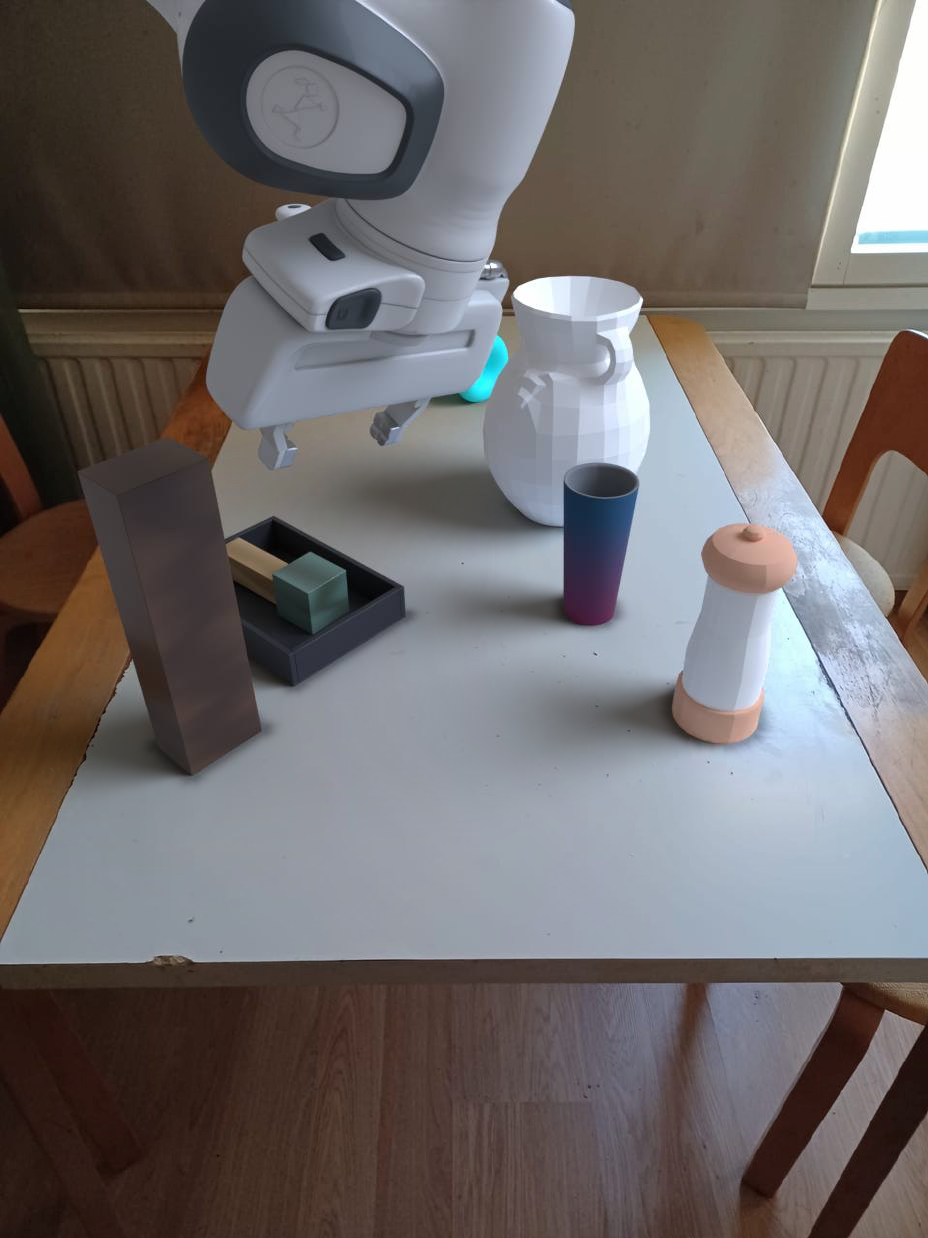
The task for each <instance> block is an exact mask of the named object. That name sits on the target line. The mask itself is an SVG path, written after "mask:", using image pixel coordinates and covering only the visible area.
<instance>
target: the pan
mask: <svg viewBox="0 0 928 1238" xmlns="http://www.w3.org/2000/svg"><path fill="white" fill-rule="evenodd" d="M238 537H239V538H241V539H243V540H245V541H247V542H248V543H250V544H252V545H254V546H256V547H258V548H260V549H261V550H263V551H265V552H267V553H269V554H271V555H273V556H274V557H276V558H278V559H280V560H282V561H284V562H286V563H287V564H290V563H291V562H293V561H295V560H297V559H298V558H300V557H302V556H304V555H305V554H307V553H309V552H312V553H314V554H315V555H317V556H319V557H321V558H323V559H325V560H327V561H329V562H331V563H333V564H335V565H337V566H339V567H340V568H342V569H344V570H346V579H347V592H348V604H349V611H348V612H347V613H345V614H344V615H342V616H341V617H339V618H338V619H336V620H335V621H333V622H332V623H330V624H329V625H327V626H326V627H324V628H323V629H321V630H320V631H318V632H317V633H315V634H314V635H312V634H310V633H308V632H307V631H305V630H303V629H301V628H300V627H298V626H296V625H295V624H293V623H291V622H289V621H288V620H286V619H284V618H283V617H281V616H279V615H278V613H277V606H276V604H274V603H272V602H271V601H269V600H267V599H265V598H264V597H262V596H260V595H259V594H257V593H255V592H253V591H252V590H250V589H248V588H246V587H245V586H243V585H241V584H239V583H238V582H236V581H234V580H233V584H234V590H235V595H236V600H237V605H238V610H239V615H240V621H241V626H242V631H243V636H244V641H245V646H246V652H247V657H250V658H251V659H253V660H254V661H256V662H257V663H258V664H260V665H262V666H263V667H264V668H266V669H267V670H268V671H270V672H271V673H273V674H274V675H276V676H277V677H278V678H280V679H282V680H283V681H284V682H286V683H287V684H289V685H290V686H291V687H294V688H295V687H296V686H298V685H300V684H301V683H303V682H305V681H306V680H307V679H310V677H312V676H314V675H315V674H317V673H318V672H320V671H322V670H323V669H325V668H326V667H328V666H329V665H331V664H333V663H334V662H336V661H338V660H339V659H341V658H343V657H344V656H346V655H347V654H349V653H351V652H352V651H354V650H355V649H357V648H358V647H360V646H361V645H363V644H365V643H366V642H368V641H369V640H371V639H372V638H375V636H377V635H379V634H381V633H382V632H384V631H385V630H387V629H388V628H390V627H392V626H393V625H395V624H396V623H399V622H400V621H402V620H403V619H404V618H406V615H407V614H406V597H405V596H406V595H405V586H404V585H402V584H400V583H398V582H397V581H395V580H393V579H391V578H389V577H388V576H386V575H384V574H381V573H380V572H378V571H376V570H375V569H373V568H371V567H369V566H367V565H366V564H363V563H362V562H360V561H358V560H356V559H354V558H352V557H350V556H349V555H347V554H346V553H344V552H341V551H339V550H338V549H336V548H334V547H332V546H330V545H329V544H327V543H325V542H323V541H322V540H320V539H317V538H315V537H314V536H312V535H310V534H308V533H306V532H305V531H303V530H301V529H299V528H297V527H295V526H293V525H292V524H290V523H288V522H286V521H284V520H283V519H281V518H279V517H277V516H275V515H272V516H269V517H267V518H266V519H263V520H261V521H259V522H257V523H255V524H253V525H251V526H249V527H247V528H244V529H242V530H241V531H238V532H236V533H235V534H234V533H233V535H230V536H228V537H226V538H225V543H226V544H227V543H229V542H231V541H233V540H235V539H236V538H238Z"/></svg>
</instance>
